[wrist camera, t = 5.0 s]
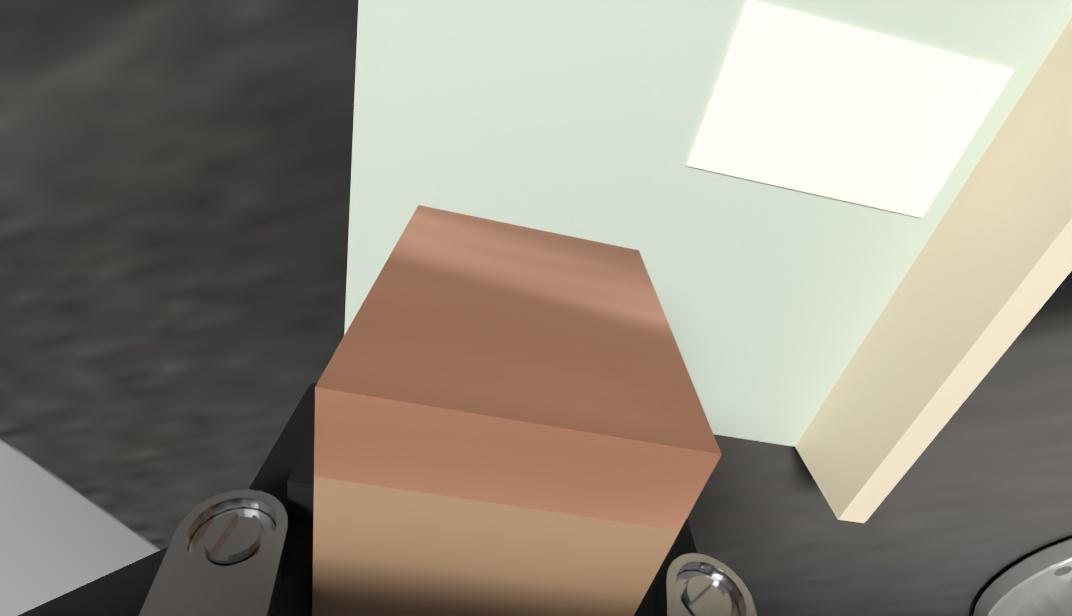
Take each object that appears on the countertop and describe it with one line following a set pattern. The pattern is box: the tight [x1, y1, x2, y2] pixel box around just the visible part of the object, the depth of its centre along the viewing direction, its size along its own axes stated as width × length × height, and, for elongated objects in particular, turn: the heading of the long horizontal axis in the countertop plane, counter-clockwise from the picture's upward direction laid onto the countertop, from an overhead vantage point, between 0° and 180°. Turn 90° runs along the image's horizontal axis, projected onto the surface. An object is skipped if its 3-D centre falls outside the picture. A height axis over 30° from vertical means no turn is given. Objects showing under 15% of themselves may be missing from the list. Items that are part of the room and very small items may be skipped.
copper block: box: [312, 205, 722, 616], centre depth 9 cm, size 8×4×5 cm, turn 168°
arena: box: [344, 0, 1072, 523], centre depth 16 cm, size 24×22×4 cm
